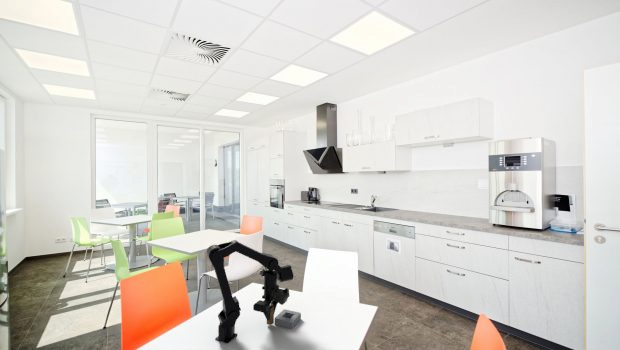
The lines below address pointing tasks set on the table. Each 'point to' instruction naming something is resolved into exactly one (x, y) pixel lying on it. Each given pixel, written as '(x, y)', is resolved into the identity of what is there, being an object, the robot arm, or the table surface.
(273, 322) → the peg
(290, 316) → the socket
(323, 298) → the table surface
